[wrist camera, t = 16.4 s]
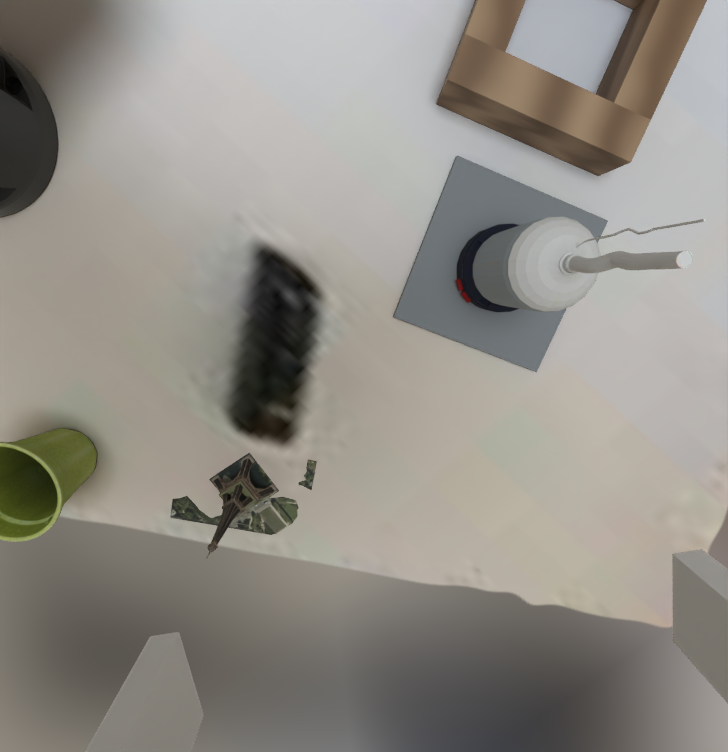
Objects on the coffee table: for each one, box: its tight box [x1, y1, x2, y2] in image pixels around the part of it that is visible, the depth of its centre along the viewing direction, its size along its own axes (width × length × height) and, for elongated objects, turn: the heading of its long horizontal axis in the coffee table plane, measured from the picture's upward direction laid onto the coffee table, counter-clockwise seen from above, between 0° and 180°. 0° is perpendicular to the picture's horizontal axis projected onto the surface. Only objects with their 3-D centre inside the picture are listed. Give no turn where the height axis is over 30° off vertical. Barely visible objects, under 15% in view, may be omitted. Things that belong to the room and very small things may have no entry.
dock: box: [436, 0, 707, 176], centre depth 37 cm, size 17×17×5 cm
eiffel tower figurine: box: [171, 453, 317, 557], centre depth 42 cm, size 15×10×13 cm
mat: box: [393, 156, 608, 372], centre depth 43 cm, size 16×16×1 cm
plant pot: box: [0, 428, 97, 541], centre depth 42 cm, size 9×9×9 cm
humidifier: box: [455, 217, 705, 312], centre depth 31 cm, size 8×8×25 cm
